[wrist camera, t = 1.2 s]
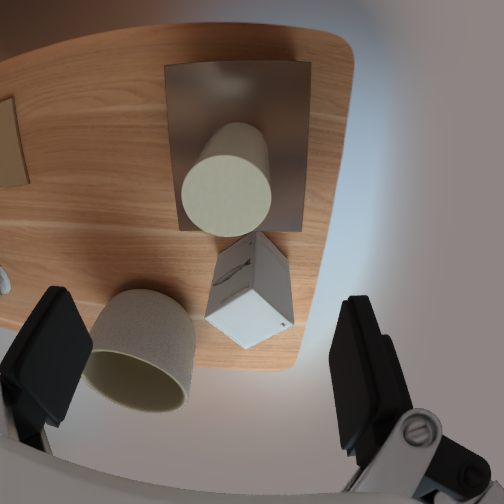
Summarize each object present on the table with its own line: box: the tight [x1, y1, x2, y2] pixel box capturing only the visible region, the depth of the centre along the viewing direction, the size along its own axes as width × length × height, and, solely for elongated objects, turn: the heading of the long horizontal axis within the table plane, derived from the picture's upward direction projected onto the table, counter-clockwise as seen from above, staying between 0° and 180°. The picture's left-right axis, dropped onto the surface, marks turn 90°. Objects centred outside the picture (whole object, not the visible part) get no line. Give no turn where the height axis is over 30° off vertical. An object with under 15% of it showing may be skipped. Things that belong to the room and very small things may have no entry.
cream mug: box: [181, 122, 271, 237], centre depth 22 cm, size 7×5×10 cm
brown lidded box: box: [164, 60, 311, 232], centre depth 30 cm, size 16×12×10 cm
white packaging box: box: [205, 231, 294, 349], centre depth 39 cm, size 7×7×13 cm
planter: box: [81, 289, 196, 414], centre depth 45 cm, size 17×17×15 cm
